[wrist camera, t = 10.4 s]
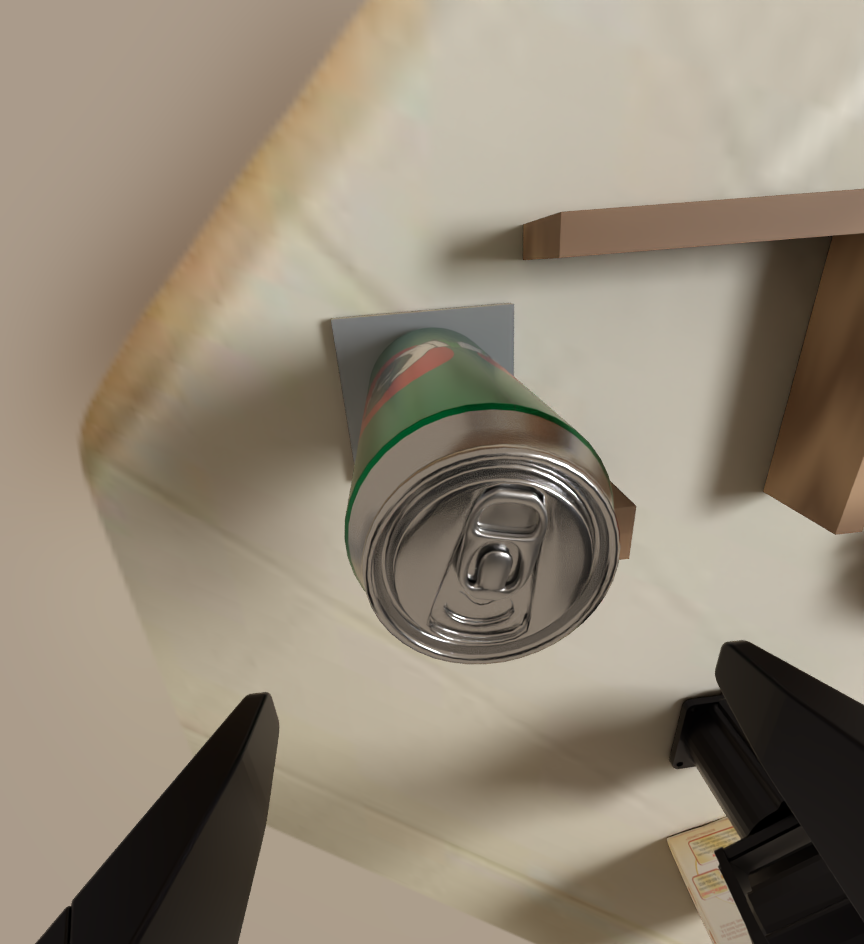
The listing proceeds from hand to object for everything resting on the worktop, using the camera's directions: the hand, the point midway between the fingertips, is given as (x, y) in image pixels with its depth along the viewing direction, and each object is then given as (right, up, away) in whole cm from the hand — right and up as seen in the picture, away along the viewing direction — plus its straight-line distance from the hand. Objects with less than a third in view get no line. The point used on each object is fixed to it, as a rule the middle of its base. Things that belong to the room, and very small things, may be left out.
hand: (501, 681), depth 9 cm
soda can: (-1, +8, +10) cm, 12 cm away
